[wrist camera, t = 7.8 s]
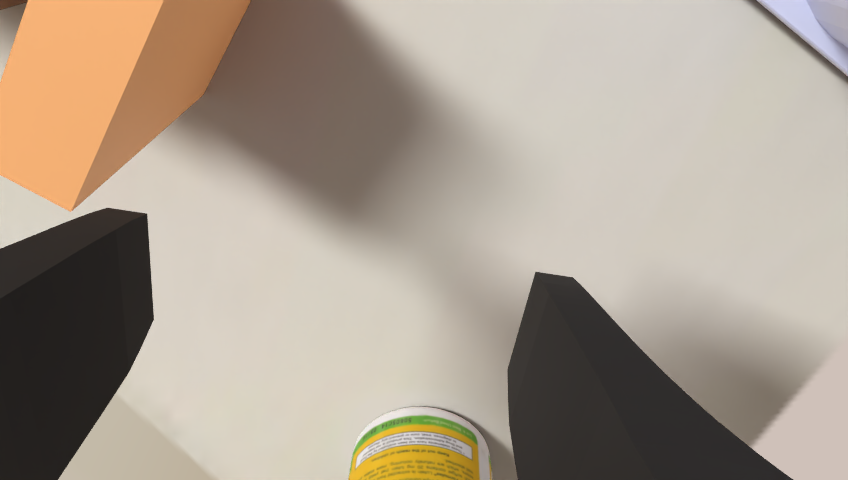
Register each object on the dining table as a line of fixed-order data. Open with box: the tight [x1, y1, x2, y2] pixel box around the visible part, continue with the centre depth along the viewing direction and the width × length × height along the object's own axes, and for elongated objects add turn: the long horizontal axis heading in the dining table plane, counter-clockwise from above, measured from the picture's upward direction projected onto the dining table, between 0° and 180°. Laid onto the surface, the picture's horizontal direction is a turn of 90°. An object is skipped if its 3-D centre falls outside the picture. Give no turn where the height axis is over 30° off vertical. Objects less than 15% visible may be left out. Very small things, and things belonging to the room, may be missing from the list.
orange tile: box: [0, 0, 251, 212], centre depth 14 cm, size 2×5×8 cm, turn 146°
